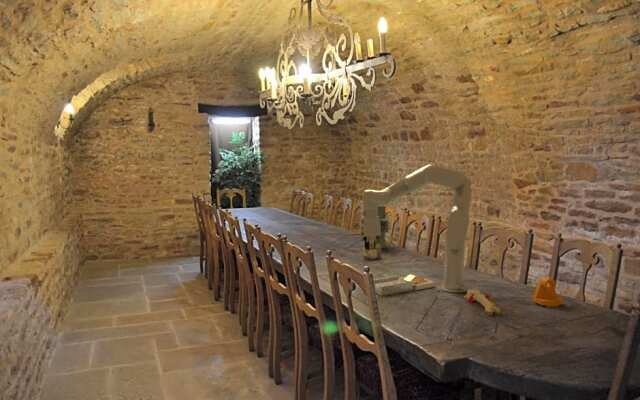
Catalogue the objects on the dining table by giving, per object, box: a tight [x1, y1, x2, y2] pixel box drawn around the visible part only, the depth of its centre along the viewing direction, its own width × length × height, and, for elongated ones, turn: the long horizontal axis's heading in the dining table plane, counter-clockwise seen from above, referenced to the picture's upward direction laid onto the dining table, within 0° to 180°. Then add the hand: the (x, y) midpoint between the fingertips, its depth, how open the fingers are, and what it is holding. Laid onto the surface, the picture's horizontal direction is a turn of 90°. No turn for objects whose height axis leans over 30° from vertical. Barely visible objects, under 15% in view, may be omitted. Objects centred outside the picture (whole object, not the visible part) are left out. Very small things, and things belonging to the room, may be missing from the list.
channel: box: [373, 275, 414, 297], centre depth 254 cm, size 13×20×4 cm, turn 120°
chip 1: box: [404, 274, 417, 284], centre depth 261 cm, size 4×4×3 cm
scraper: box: [362, 236, 377, 258], centre depth 263 cm, size 8×3×11 cm, turn 31°
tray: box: [399, 275, 436, 291], centre depth 262 cm, size 15×13×2 cm
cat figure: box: [463, 289, 502, 316], centre depth 228 cm, size 10×9×25 cm
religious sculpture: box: [375, 204, 389, 249], centre depth 356 cm, size 24×12×30 cm, turn 15°
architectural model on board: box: [363, 243, 382, 261], centre depth 322 cm, size 11×3×10 cm, turn 115°
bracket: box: [532, 275, 564, 308], centre depth 231 cm, size 11×7×12 cm, turn 98°
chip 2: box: [415, 275, 424, 285], centre depth 263 cm, size 4×4×3 cm
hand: (369, 248), depth 263 cm, fingers closed on scraper, 3 cm apart
